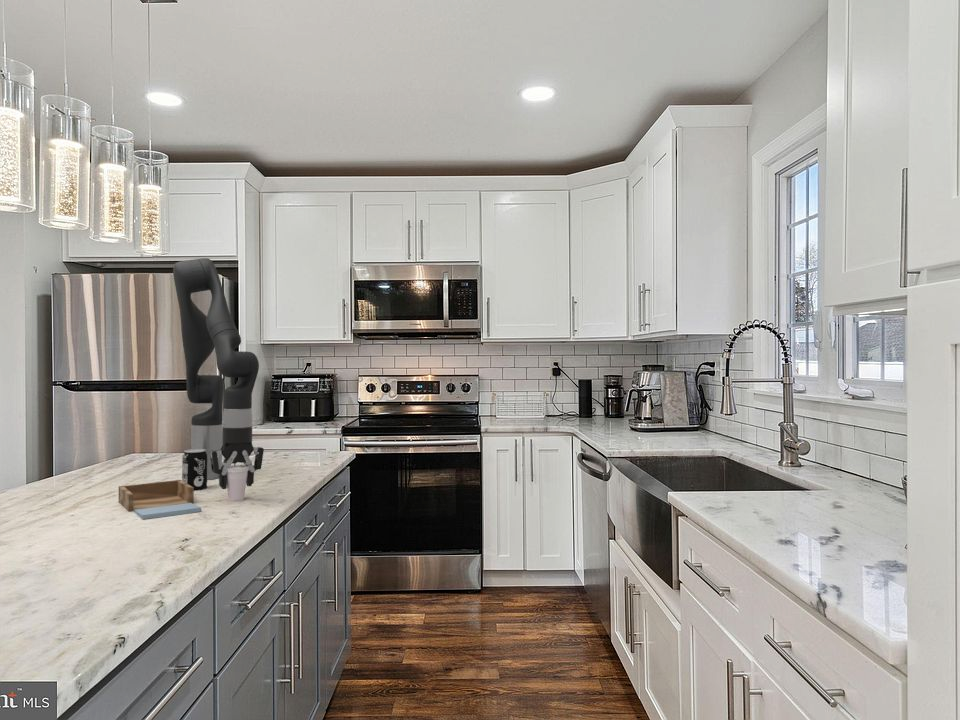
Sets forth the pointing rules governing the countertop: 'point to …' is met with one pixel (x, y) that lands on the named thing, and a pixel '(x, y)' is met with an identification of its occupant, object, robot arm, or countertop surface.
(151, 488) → the tray
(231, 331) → the robot arm
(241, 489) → the smoothie
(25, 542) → the countertop surface
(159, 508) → the flat blue panel
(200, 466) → the beverage can
